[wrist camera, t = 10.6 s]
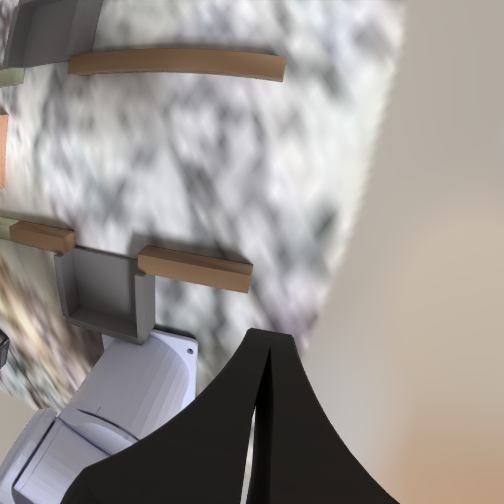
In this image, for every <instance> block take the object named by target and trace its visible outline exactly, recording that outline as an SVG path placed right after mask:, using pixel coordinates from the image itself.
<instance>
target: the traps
mask: <svg viewBox="0 0 504 504" xmlns="http://www.w3.org/2000/svg"><path fill="white" fill-rule="evenodd" d="M102 1H103V0H19V4H18V6H17V7H15V10H14V14H13V18H12V22H11V26H10V31H9V35H8V40H7V45H6V50H5V56H4V61H3V69H8V68H11V67H13V68H29V67H34V66H39V65H44V64H50V63H56V62H62V61H69V60H70V56H73V55H80V54H88V53H92V47H93V42H94V37H95V32H96V27H97V22H98V18H99V14H100V9H101V5H102ZM54 260H55V268H56V276H57V283H58V289H59V295H60V301H61V307H62V312H63V315H64V316H66V319H67V323H70V324H73V325H76V326H79V327H82V328H85V329H88V330H91V331H94V332H97V333H101V334H104V335H107V336H110V337H114V338H117V339H120V340H124V341H127V342H131V343H134V344H138V345H143V343H144V342H145V340H146V339H147V337H148V336H149V334H150V332H151V331H152V329H153V327H154V326H155V275H151V274H147V273H142V272H138V260H135V259H130V258H125V257H120V256H116V255H111V254H106V253H102V252H97V251H92V250H88V249H83V248H79V247H75V248H73V249H72V250H70V251H69V252H67V253H66V254H60V253H57V254H56V255H55V256H54Z"/></svg>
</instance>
